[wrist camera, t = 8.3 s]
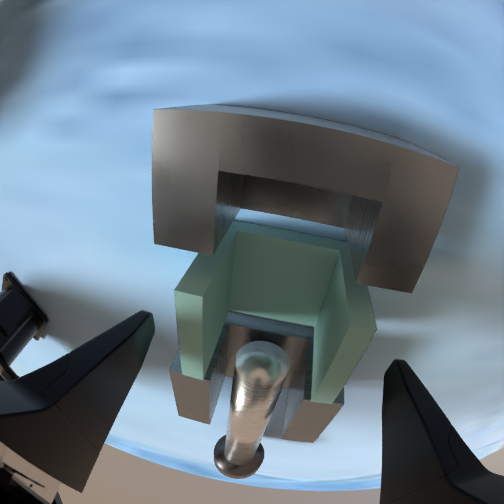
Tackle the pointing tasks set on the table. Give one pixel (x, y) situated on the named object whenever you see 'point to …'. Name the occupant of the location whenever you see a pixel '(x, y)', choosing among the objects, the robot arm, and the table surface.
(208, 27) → the table surface
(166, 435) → the table surface
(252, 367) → the shaft
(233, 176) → the cradle rig
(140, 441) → the table surface
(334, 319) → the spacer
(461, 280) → the table surface
